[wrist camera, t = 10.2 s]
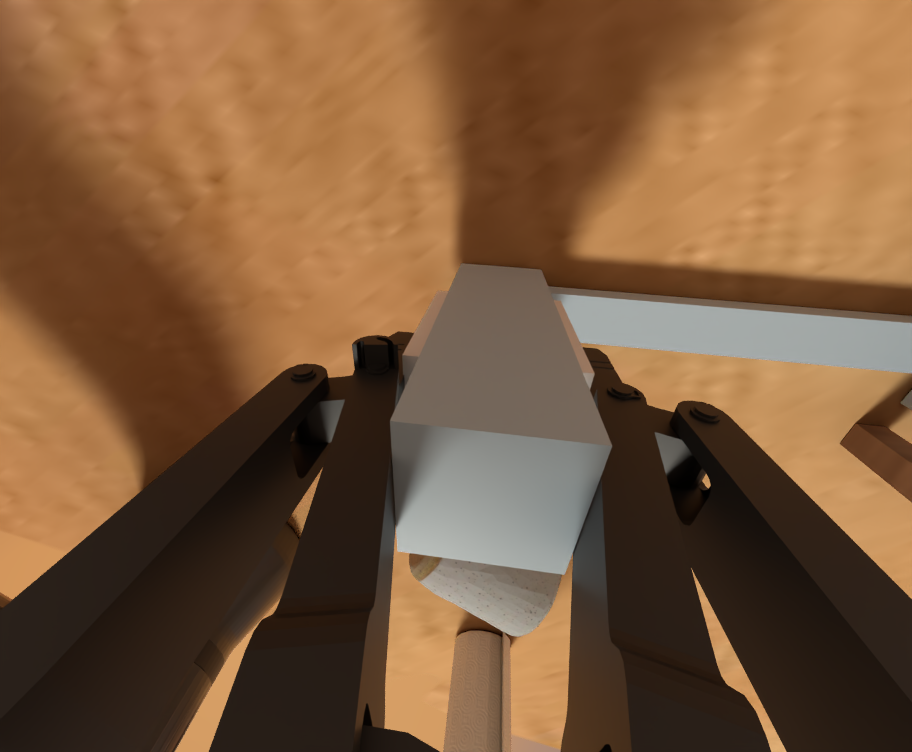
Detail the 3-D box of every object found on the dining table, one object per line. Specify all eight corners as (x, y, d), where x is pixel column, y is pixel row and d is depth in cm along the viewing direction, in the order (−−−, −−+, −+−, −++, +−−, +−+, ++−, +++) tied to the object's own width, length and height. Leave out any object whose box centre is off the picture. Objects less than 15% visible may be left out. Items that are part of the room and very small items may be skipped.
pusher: (456, 359, 20) (399, 585, 9) (463, 231, 17) (385, 347, 6) (932, 406, 18) (1587, 761, 7) (1054, 273, 15) (2693, 572, 4)
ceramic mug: (462, 450, 24) (444, 555, 18) (558, 499, 25) (575, 614, 19) (401, 525, 30) (370, 626, 23) (483, 562, 31) (476, 669, 24)
